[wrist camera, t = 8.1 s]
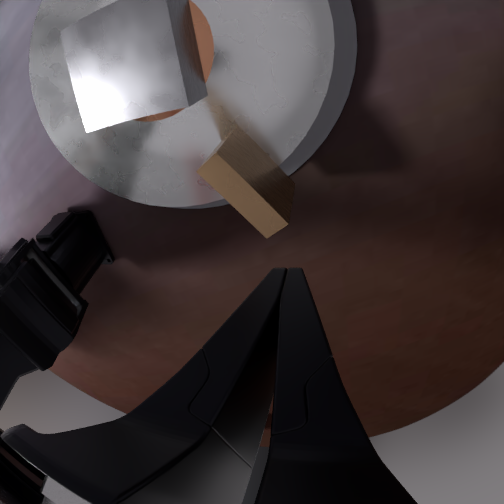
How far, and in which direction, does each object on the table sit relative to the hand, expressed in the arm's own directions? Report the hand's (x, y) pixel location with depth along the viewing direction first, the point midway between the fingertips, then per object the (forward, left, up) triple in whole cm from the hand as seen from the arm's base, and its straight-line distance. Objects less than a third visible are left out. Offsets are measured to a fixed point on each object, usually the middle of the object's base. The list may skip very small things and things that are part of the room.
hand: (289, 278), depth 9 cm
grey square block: (+7, +9, -11) cm, 16 cm away
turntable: (+7, +9, -13) cm, 18 cm away
